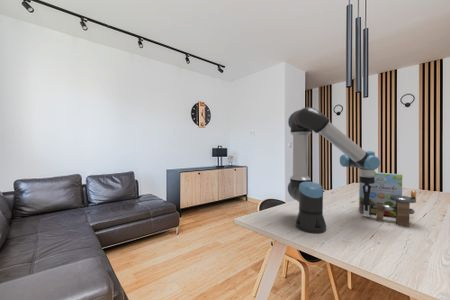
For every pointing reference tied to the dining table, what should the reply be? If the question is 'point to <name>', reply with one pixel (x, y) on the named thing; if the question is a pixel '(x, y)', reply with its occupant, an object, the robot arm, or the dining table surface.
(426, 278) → the dining table surface
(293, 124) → the robot arm
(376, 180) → the snack box
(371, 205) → the cube-head mallet
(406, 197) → the lock wheel
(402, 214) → the notched wooden block
